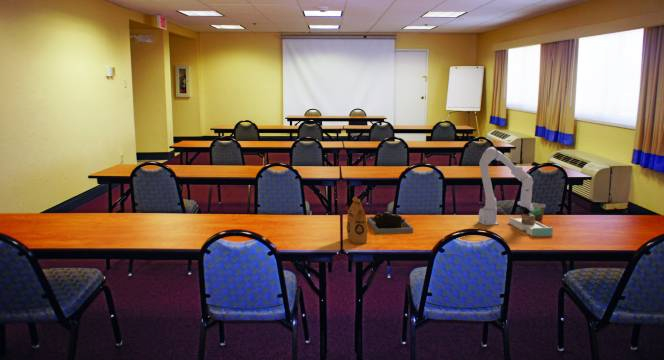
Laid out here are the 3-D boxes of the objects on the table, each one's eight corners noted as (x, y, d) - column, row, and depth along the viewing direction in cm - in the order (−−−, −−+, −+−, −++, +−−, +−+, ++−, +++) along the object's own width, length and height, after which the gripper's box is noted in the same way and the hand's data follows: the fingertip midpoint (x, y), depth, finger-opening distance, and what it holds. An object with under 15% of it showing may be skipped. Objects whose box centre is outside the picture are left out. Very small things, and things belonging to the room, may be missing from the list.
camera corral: (377, 233, 275) (377, 229, 274) (367, 220, 300) (367, 216, 300) (412, 232, 278) (413, 228, 277) (400, 219, 303) (400, 215, 302)
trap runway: (533, 236, 272) (533, 228, 271) (508, 222, 298) (509, 215, 297) (552, 235, 273) (553, 227, 272) (526, 222, 299) (527, 214, 298)
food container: (520, 217, 310) (521, 201, 308) (525, 216, 314) (526, 200, 312) (539, 221, 301) (541, 205, 299) (544, 220, 305) (546, 203, 303)
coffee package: (349, 245, 256) (350, 202, 251) (345, 237, 268) (346, 196, 264) (369, 244, 257) (370, 201, 253) (364, 236, 269) (364, 196, 265)
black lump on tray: (403, 225, 291) (404, 208, 289) (405, 231, 279) (405, 214, 277) (372, 224, 293) (372, 207, 291) (372, 230, 281) (372, 213, 279)
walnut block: (526, 225, 285) (526, 216, 284) (521, 222, 289) (522, 214, 288) (534, 224, 285) (535, 216, 284) (529, 222, 290) (530, 213, 289)
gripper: (539, 199, 282) (537, 223, 285) (526, 193, 296) (524, 216, 299) (527, 199, 281) (525, 223, 284) (514, 194, 295) (513, 216, 298)
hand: (524, 219), depth 291 cm, fingers closed
